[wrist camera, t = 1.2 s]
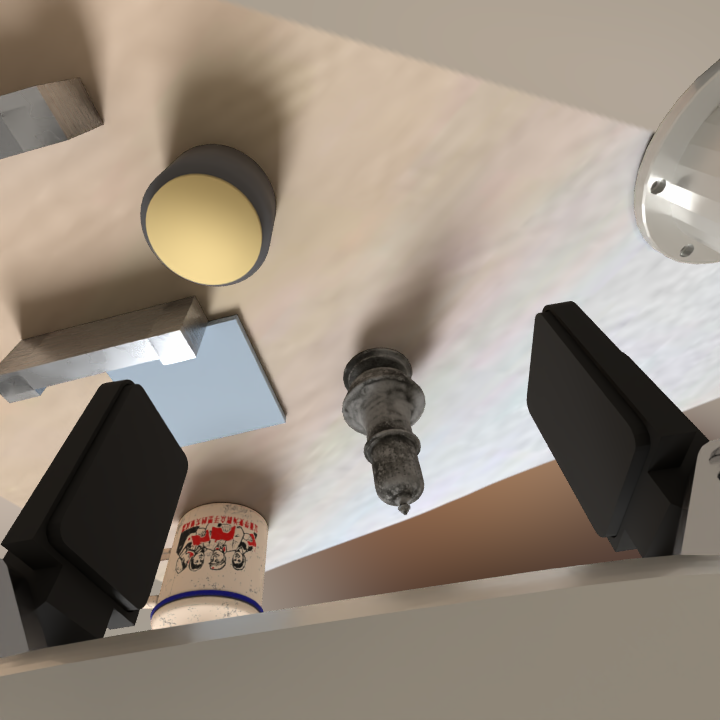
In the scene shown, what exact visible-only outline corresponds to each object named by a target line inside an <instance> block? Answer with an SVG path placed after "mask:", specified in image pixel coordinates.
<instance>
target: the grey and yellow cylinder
mask: <svg viewBox="0 0 720 720" xmlns="http://www.w3.org/2000/svg"><path fill="white" fill-rule="evenodd" d="M275 214H276V200H275V195H274V191H273V188H272V186H271V183H270V181H269V179H268V177H267V176H266V174H265V173H264V171H263V170H262V169H261V168H260V167H259V165H258V164H257V163H256V162H254V161H253V160H252V159H251V158H250V157H248V156H247V155H245V154H244V153H242V152H240V151H238V150H236V149H234V148H231V147H228V146H224V145H217V144H206V145H201V146H197V147H194V148H191V149H189V150H188V151H186V152H184V153H183V154H182V155H180V156H179V157H178V158H177V159H176V160H175V161H174V162H173V163H172V164H171V165H169V166H168V167H167V168H166V169H165V170H164V171H163V172H162V173H161V174H160V175H159V176H158V177H156V178H155V180H154V181H153V182H152V183H151V184H150V185H149V187H148V189H147V190H146V192H145V195H144V197H143V200H142V204H141V213H140V215H141V225H142V230H143V233H144V236H145V239H146V241H147V243H148V245H149V247H150V248H151V250H152V251H153V253H154V254H155V256H156V257H157V258H158V259H159V260H160V261H161V262H162V263H163V264H164V265H165V266H166V267H167V268H168V269H170V270H171V271H172V272H174V273H175V274H177V275H178V276H180V277H182V278H184V279H186V280H188V281H191V282H193V283H197V284H200V285H206V286H228V285H233V284H236V283H239V282H241V281H243V280H245V279H247V278H248V277H250V276H251V275H253V274H254V273H255V272H256V271H257V270H258V269H259V268H260V266H261V265H262V263H263V262H264V260H265V258H266V256H267V254H268V250H269V246H270V241H271V236H272V231H273V226H274V220H275Z"/></svg>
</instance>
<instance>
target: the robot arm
mask: <svg viewBox="0 0 720 720" xmlns="http://www.w3.org/2000/svg"><path fill="white" fill-rule="evenodd" d="M634 213H635V217H636V222H637V226H638V228H639V230H640V232H641V234H642V236H643V238H644V239H645V240H646V241H647V242H648V243H649V245H650V246H651V247H652V248H653V249H655V250H657V251H658V252H660V253H661V254H663V255H664V256H666V257H668V258H670V259H672V260H675V261H677V262H681V263H689V264H709V263H716V262H720V59H719V60H718V61H717V62H716V63H715V64H713V65H712V66H711V67H710V68H709V69H708V70H707V71H705V72H704V73H703V74H702V75H701V76H700V77H698V78H697V79H696V80H695V81H694V83H693V84H692V85H691V86H690V87H689V88H688V89H687V90H686V91H685V92H684V94H683V95H682V96H681V97H680V98H679V99H678V100H677V101H676V103H675V104H674V105H673V107H672V108H671V110H670V111H669V112H668V114H667V115H666V117H665V118H664V119H663V121H662V122H661V124H660V125H659V127H658V129H657V131H656V133H655V134H654V136H653V138H652V140H651V142H650V144H649V145H648V147H647V150H646V152H645V155H644V158H643V160H642V163H641V165H640V168H639V171H638V176H637V181H636V185H635V190H634ZM527 406H528V409H529V412H530V414H531V416H532V418H533V420H534V422H535V423H536V425H537V427H538V429H539V431H540V432H541V434H542V436H543V438H544V440H545V441H546V443H547V445H548V447H549V449H550V450H551V452H552V454H553V456H554V458H555V459H556V461H557V463H558V465H559V467H560V468H561V470H562V472H563V474H564V476H565V477H566V479H567V481H568V483H569V485H570V486H571V488H572V490H573V492H574V494H575V495H576V497H577V499H578V501H579V502H580V504H581V506H582V508H583V510H584V511H585V513H586V515H587V517H588V519H589V521H590V522H591V524H592V526H593V528H594V529H595V531H596V533H597V534H598V535H599V536H600V537H607V538H608V540H609V542H610V543H611V545H612V547H613V549H614V550H615V552H619V551H625V550H632V549H638V551H639V553H640V554H641V556H642V558H637V559H626V560H619V561H611V562H604V563H596V564H588V565H581V566H573V567H565V568H557V569H550V570H542V571H535V572H528V573H521V574H515V575H508V576H501V577H494V578H488V579H481V580H474V581H467V582H461V583H454V584H447V585H440V586H434V587H427V588H420V589H413V590H406V591H400V592H393V593H387V594H381V595H374V596H367V597H361V598H355V599H347V600H340V601H334V602H328V603H321V604H315V605H308V606H302V607H295V608H288V609H282V610H276V611H269V612H262V613H256V614H249V615H243V616H236V617H230V618H224V619H217V620H211V621H205V622H198V623H192V624H186V625H179V626H173V627H167V628H160V629H154V630H148V631H142V632H135V633H130V634H122V635H117V636H111V637H105V638H103V637H104V634H105V631H106V628H109V629H117V628H123V627H129V626H134V625H135V623H136V620H137V617H138V613H139V610H140V609H142V608H143V607H144V606H145V605H146V603H147V601H148V599H149V596H150V592H151V589H152V586H153V582H154V579H155V576H156V573H157V569H158V566H159V563H160V559H161V556H162V553H163V550H164V546H165V543H166V540H167V536H168V533H169V530H170V526H171V523H172V520H173V517H174V513H175V510H176V507H177V503H178V500H179V497H180V494H181V490H182V487H183V484H184V480H185V477H186V474H187V470H188V461H187V457H186V455H185V454H184V452H183V450H182V449H181V447H180V446H179V444H178V442H177V441H176V439H175V438H174V436H173V434H172V433H171V431H170V430H169V428H168V427H167V425H166V423H165V422H164V420H163V419H162V417H161V415H160V414H159V412H158V411H157V409H156V407H155V406H154V404H153V403H152V401H151V400H150V398H149V396H148V395H147V393H146V392H145V390H144V388H143V387H142V386H141V385H140V384H135V383H134V382H133V381H131V380H128V379H126V380H120V381H114V382H109V383H104V384H102V385H101V386H100V387H99V388H98V390H97V391H96V393H95V395H94V396H93V398H92V399H91V401H90V403H89V404H88V406H87V407H86V409H85V411H84V412H83V414H82V415H81V417H80V418H79V420H78V422H77V423H76V425H75V426H74V428H73V430H72V431H71V433H70V434H69V436H68V438H67V439H66V441H65V442H64V444H63V446H62V447H61V449H60V450H59V452H58V454H57V455H56V457H55V458H54V460H53V462H52V463H51V465H50V466H49V468H48V470H47V471H46V473H45V474H44V476H43V477H42V479H41V481H40V482H39V484H38V485H37V487H36V489H35V490H34V492H33V493H32V495H31V497H30V498H29V500H28V501H27V503H26V505H25V506H24V508H23V509H22V511H21V513H20V514H19V516H18V517H17V519H16V521H15V522H14V524H13V525H12V527H11V528H10V530H9V532H8V533H7V535H6V537H5V538H4V540H3V541H2V543H1V545H2V546H3V547H5V548H6V549H7V550H8V552H7V553H6V555H5V557H4V558H3V559H0V720H720V439H716V440H712V441H709V440H708V439H707V438H706V437H705V436H704V435H703V433H701V431H700V430H699V429H698V428H697V427H696V426H695V425H694V424H693V423H692V422H691V421H690V420H689V419H688V418H687V417H686V416H685V415H684V414H683V413H682V412H681V411H680V409H679V408H678V407H677V406H676V405H675V404H674V403H673V402H672V401H671V400H670V399H669V398H668V397H667V396H666V395H665V394H664V393H663V392H662V391H661V390H660V389H659V388H658V387H657V386H656V384H655V383H654V382H653V381H652V380H651V379H650V378H649V377H648V376H647V375H646V374H645V373H644V372H643V371H642V370H641V369H640V368H639V367H638V366H637V365H636V364H635V363H634V362H633V361H632V359H631V358H630V357H629V356H627V355H626V354H625V353H623V352H621V351H620V350H619V348H618V347H617V346H616V345H615V344H614V343H613V342H612V341H611V340H610V339H609V338H608V337H607V336H606V335H605V334H604V333H603V332H602V331H601V330H600V329H599V327H598V326H597V325H596V324H595V323H594V322H593V321H592V320H591V319H590V318H589V317H588V316H587V315H586V314H585V313H584V312H583V311H582V310H581V309H580V307H579V306H578V305H577V304H576V303H574V302H573V301H568V302H563V303H557V304H551V305H546V306H545V307H544V308H543V311H542V313H538V314H537V315H536V317H535V324H534V334H533V343H532V353H531V362H530V372H529V381H528V391H527Z"/></svg>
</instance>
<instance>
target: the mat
mask: <svg viewBox="0 0 720 720" xmlns="http://www.w3.org/2000/svg"><path fill="white" fill-rule="evenodd" d="M107 374H108V375H109V376H110V378H111V379H112V380H113V381H120V380H126V379H128V380H131V381H133V382H134V383H135V384H140V385H141V386H142V387H143V388H144V390H145V392H146V393H147V395H148V396H149V398H150V400H151V401H152V403H153V404H154V406H155V407H156V409H157V411H158V412H159V414H160V415H161V417H162V419H163V420H164V422H165V423H166V425H167V427H168V428H169V430H170V431H171V433H172V434H173V436H174V438H175V439H176V441H177V442H178V444H179V446H180V447H184V446H188V445H192V444H197V443H201V442H205V441H209V440H214V439H218V438H222V437H227V436H231V435H235V434H239V433H244V432H248V431H252V430H257V429H261V428H265V427H270V426H274V425H278V424H282V423H286V417H285V414H284V412H283V410H282V408H281V406H280V404H279V402H278V400H277V398H276V395H275V393H274V391H273V389H272V387H271V385H270V383H269V381H268V379H267V377H266V374H265V372H264V370H263V368H262V366H261V364H260V362H259V360H258V358H257V356H256V353H255V351H254V349H253V347H252V345H251V343H250V341H249V339H248V337H247V335H246V332H245V330H244V328H243V326H242V324H241V322H240V320H239V318H238V316H237V315H233V316H229V317H225V318H221V319H217V320H213V321H209V322H208V324H207V327H206V330H205V333H204V336H203V339H202V341H201V344H200V347H199V350H198V353H197V356H196V357H195V358H191V359H187V360H183V361H179V362H175V363H171V364H167V365H164V364H163V363H162V361H161V360H160V359H157V360H153V361H149V362H145V363H141V364H137V365H133V366H129V367H124V368H120V369H116V370H112V371H108V372H107Z"/></svg>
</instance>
